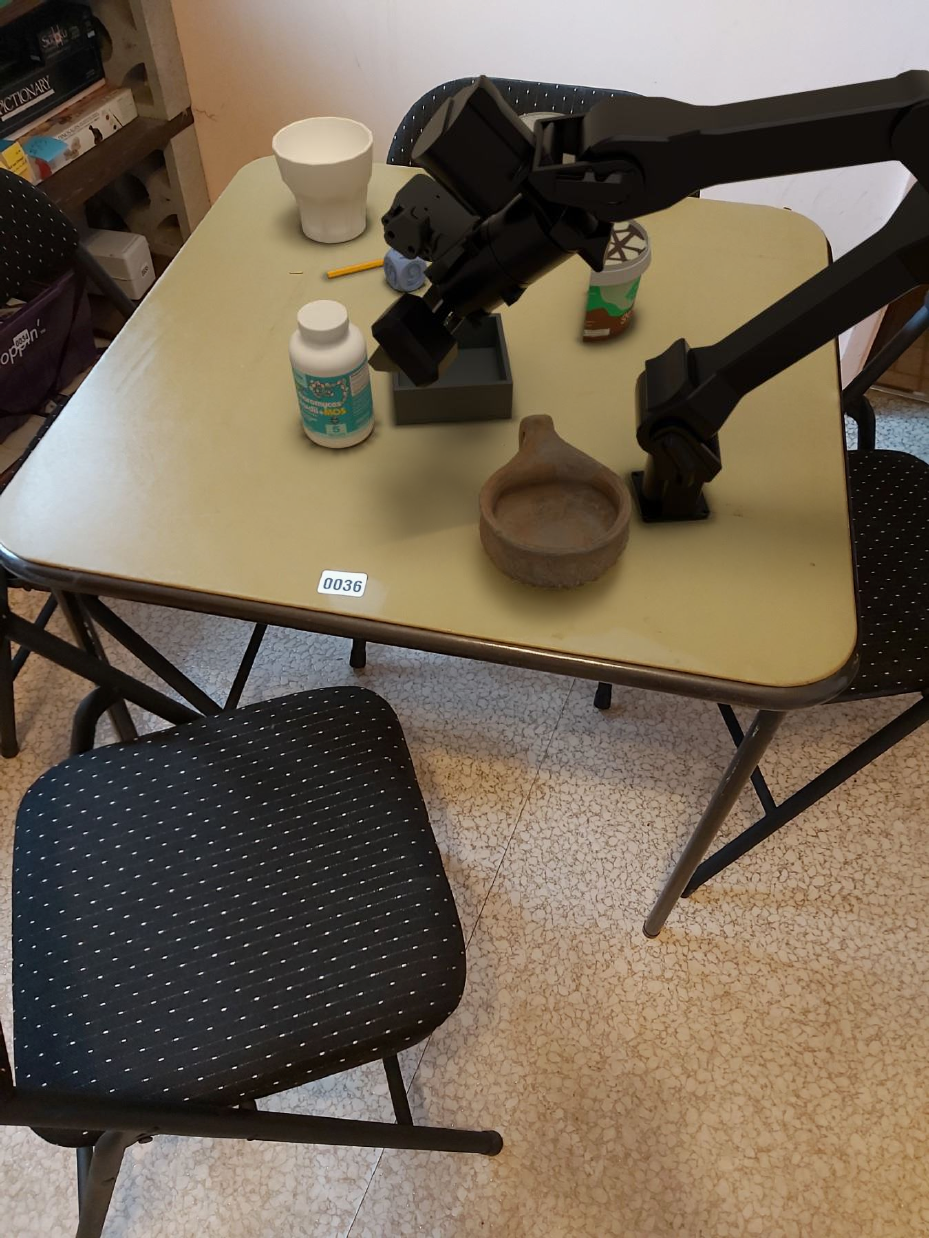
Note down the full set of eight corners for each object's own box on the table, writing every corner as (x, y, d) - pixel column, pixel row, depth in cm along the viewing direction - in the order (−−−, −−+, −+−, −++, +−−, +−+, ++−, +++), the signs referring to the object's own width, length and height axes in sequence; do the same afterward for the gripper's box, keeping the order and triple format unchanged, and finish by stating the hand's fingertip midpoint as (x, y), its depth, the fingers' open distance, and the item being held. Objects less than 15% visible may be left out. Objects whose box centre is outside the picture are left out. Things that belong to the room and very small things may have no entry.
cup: (279, 211, 114) (263, 124, 105) (368, 196, 116) (360, 110, 107) (296, 259, 107) (281, 170, 98) (391, 243, 109) (384, 154, 100)
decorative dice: (411, 270, 105) (410, 240, 102) (428, 285, 103) (427, 255, 100) (384, 280, 104) (381, 249, 101) (400, 295, 102) (398, 265, 99)
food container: (635, 355, 95) (650, 274, 87) (580, 349, 95) (591, 267, 87) (643, 293, 102) (658, 213, 94) (592, 288, 103) (603, 207, 94)
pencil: (464, 247, 108) (464, 242, 108) (329, 279, 104) (328, 274, 104) (461, 244, 109) (461, 239, 108) (327, 276, 105) (326, 271, 104)
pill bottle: (290, 437, 87) (264, 324, 76) (329, 396, 91) (310, 282, 80) (351, 460, 85) (333, 347, 74) (388, 417, 89) (377, 303, 78)
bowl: (426, 483, 81) (452, 396, 74) (552, 480, 87) (587, 398, 79) (491, 623, 71) (527, 538, 64) (629, 608, 76) (676, 529, 69)
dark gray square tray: (511, 418, 89) (513, 383, 85) (396, 424, 88) (393, 390, 84) (499, 347, 96) (500, 312, 92) (392, 353, 95) (389, 318, 92)
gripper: (499, 102, 65) (385, 210, 77) (384, 216, 55) (274, 321, 67) (583, 223, 69) (463, 308, 81) (490, 349, 59) (369, 425, 71)
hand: (397, 336), depth 75 cm, fingers open, 9 cm apart
